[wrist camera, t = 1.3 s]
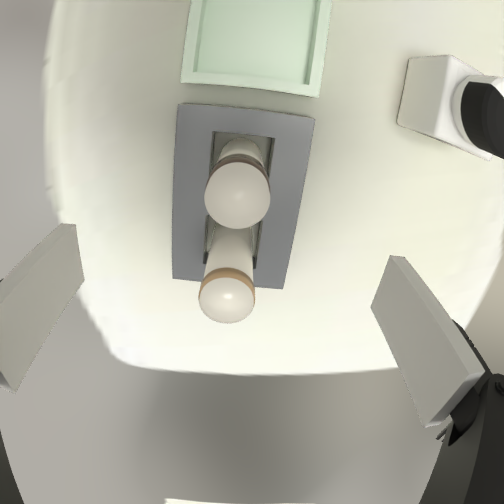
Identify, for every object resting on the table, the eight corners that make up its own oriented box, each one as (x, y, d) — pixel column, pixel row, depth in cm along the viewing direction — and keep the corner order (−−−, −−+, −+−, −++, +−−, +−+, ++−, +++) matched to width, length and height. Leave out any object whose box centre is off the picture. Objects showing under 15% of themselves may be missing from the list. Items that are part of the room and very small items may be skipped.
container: (449, 145, 28) (528, 181, 17) (394, 124, 27) (472, 151, 16) (462, 83, 24) (546, 97, 13) (408, 57, 23) (491, 51, 12)
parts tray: (204, -41, 19) (201, -51, 16) (329, -26, 19) (335, -35, 17) (185, 83, 25) (180, 82, 23) (312, 97, 26) (318, 98, 24)
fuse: (214, 211, 32) (198, 276, 21) (254, 215, 32) (258, 282, 22) (211, 247, 34) (197, 321, 23) (250, 251, 34) (251, 326, 24)
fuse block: (183, 103, 26) (178, 104, 24) (309, 117, 27) (315, 119, 25) (176, 266, 35) (172, 278, 33) (280, 276, 36) (282, 289, 34)
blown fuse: (221, 135, 28) (205, 162, 17) (265, 139, 28) (276, 169, 18) (217, 176, 30) (200, 227, 20) (259, 181, 30) (266, 233, 20)
